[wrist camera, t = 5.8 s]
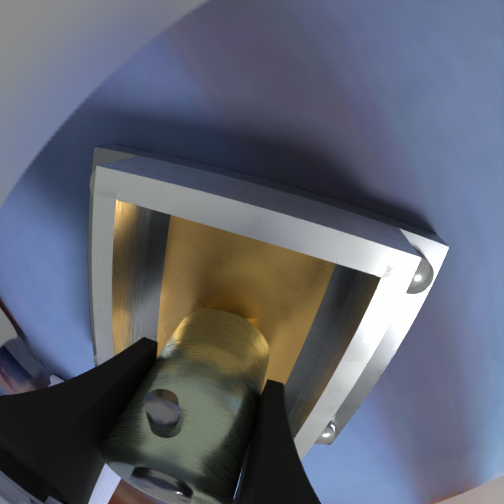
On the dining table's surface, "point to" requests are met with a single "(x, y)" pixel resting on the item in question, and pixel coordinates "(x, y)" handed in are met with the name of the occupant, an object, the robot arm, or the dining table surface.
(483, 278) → the dining table surface
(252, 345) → the spout can
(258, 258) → the grey shallow box
